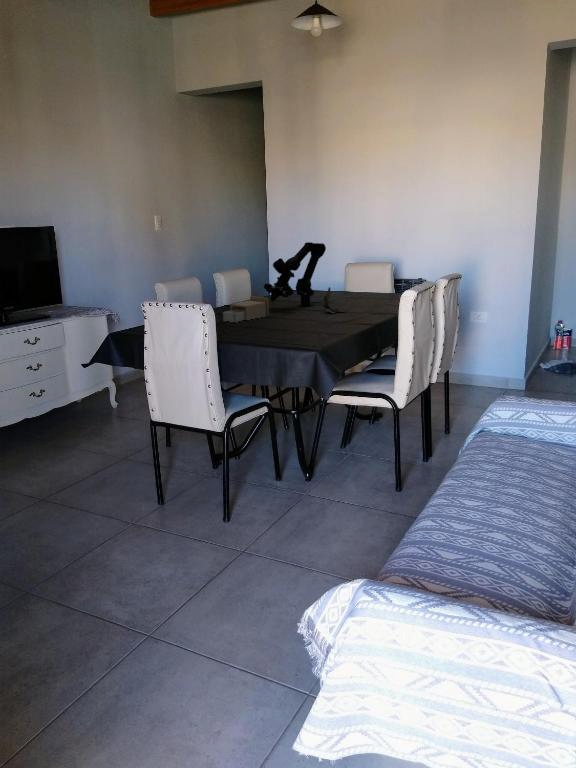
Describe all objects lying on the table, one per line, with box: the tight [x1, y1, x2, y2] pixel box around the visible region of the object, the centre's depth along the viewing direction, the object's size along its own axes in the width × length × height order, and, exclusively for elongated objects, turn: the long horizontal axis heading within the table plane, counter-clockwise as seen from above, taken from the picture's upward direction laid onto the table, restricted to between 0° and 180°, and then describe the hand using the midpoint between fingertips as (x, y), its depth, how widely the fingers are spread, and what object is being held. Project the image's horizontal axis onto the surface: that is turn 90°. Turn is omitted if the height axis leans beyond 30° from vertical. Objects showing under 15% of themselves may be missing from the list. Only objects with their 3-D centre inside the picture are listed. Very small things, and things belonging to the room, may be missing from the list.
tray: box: [222, 295, 270, 323], centre depth 335 cm, size 24×13×10 cm, turn 137°
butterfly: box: [321, 286, 345, 314], centre depth 345 cm, size 17×10×10 cm
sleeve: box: [229, 300, 267, 321], centre depth 337 cm, size 14×13×8 cm
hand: (271, 301), depth 350 cm, fingers closed
